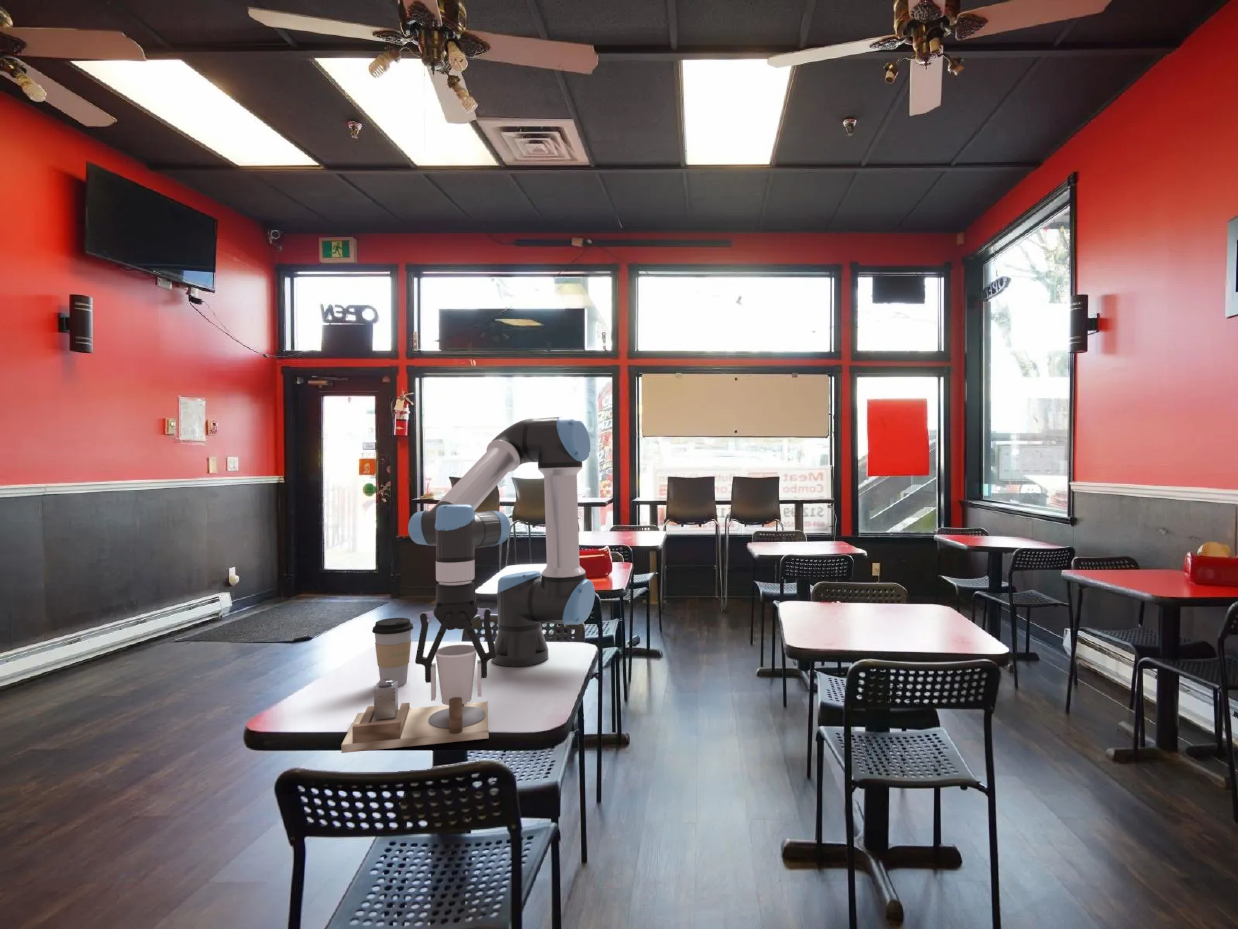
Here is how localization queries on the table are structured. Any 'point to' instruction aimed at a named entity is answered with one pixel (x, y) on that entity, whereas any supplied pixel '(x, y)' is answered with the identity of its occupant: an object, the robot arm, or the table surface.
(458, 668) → the dixie cup
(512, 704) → the table surface
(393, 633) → the coffee cup
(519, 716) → the table surface
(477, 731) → the board
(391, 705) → the grey square bottle
